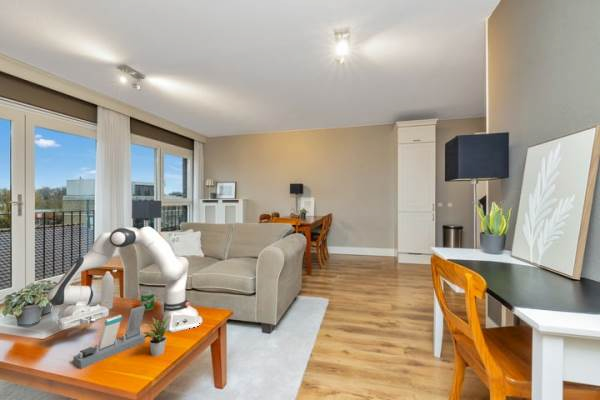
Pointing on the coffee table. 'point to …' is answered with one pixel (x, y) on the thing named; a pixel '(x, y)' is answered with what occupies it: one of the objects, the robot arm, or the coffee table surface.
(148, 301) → the soda can
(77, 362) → the grey holder rack
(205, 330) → the coffee table surface
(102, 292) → the water bottle
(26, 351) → the coffee table surface
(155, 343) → the house plant
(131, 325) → the grey upright panel
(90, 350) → the black rocker
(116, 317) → the white paddle
